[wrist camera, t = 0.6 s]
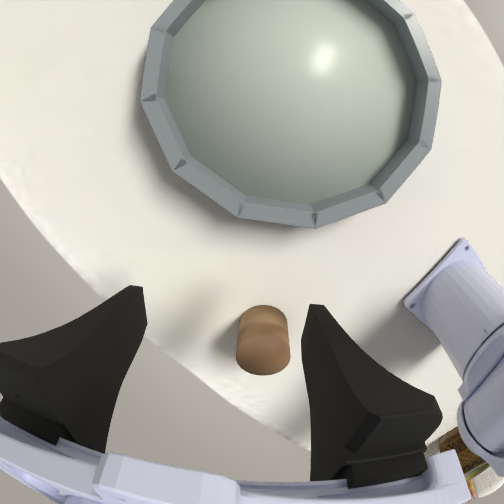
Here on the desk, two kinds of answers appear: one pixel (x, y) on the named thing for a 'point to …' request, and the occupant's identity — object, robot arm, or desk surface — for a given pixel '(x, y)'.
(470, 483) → the ammunition clip
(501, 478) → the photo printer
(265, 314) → the brown rounded piece
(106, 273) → the desk surface
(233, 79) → the round tray
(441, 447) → the ceramic cup
